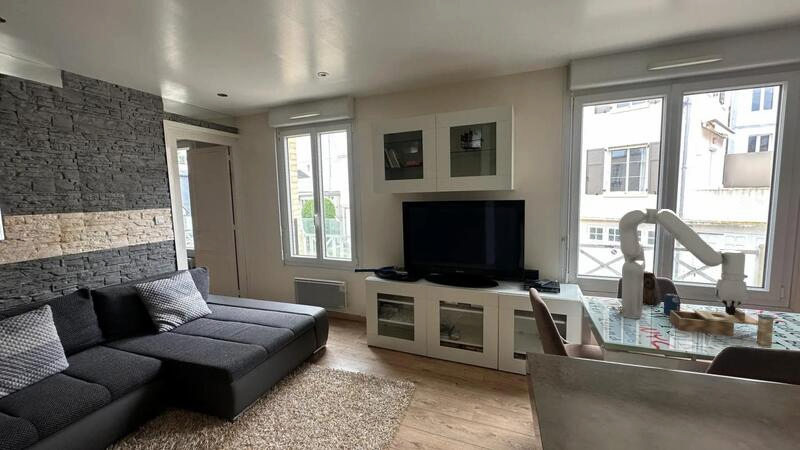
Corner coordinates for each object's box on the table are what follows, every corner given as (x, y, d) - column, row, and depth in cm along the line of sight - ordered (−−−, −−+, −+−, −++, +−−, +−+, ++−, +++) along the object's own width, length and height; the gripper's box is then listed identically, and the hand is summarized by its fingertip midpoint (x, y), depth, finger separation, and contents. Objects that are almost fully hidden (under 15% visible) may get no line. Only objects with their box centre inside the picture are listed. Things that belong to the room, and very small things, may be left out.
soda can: (681, 318, 173) (682, 297, 172) (665, 316, 176) (666, 295, 175) (677, 314, 179) (678, 293, 178) (661, 312, 182) (662, 292, 181)
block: (760, 348, 139) (763, 316, 138) (755, 344, 142) (757, 313, 141) (771, 349, 138) (774, 317, 137) (766, 345, 141) (768, 314, 140)
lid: (706, 320, 152) (706, 311, 152) (694, 311, 163) (694, 303, 163) (762, 325, 145) (763, 316, 144) (746, 316, 156) (746, 307, 155)
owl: (656, 307, 191) (658, 274, 190) (631, 302, 201) (632, 271, 199) (662, 302, 199) (663, 271, 198) (637, 297, 209) (639, 267, 207)
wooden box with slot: (679, 332, 157) (680, 318, 156) (669, 323, 168) (670, 310, 167) (733, 338, 149) (734, 323, 149) (719, 328, 160) (720, 314, 160)
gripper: (748, 276, 152) (746, 313, 154) (707, 274, 158) (706, 310, 160) (758, 279, 146) (756, 319, 147) (716, 277, 151) (714, 315, 153)
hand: (730, 314), depth 153 cm, fingers closed
